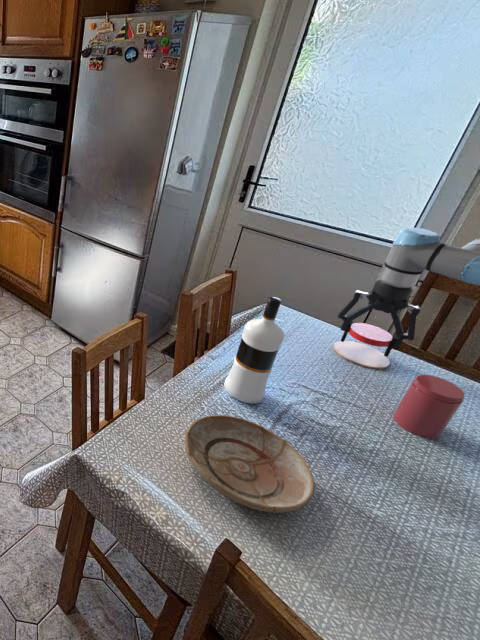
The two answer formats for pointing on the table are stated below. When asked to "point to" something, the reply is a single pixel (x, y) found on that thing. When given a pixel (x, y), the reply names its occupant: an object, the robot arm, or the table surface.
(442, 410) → the jam jar
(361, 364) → the coaster
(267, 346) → the vodka
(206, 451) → the ceramic bowl
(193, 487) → the table surface
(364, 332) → the lid
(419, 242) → the robot arm
